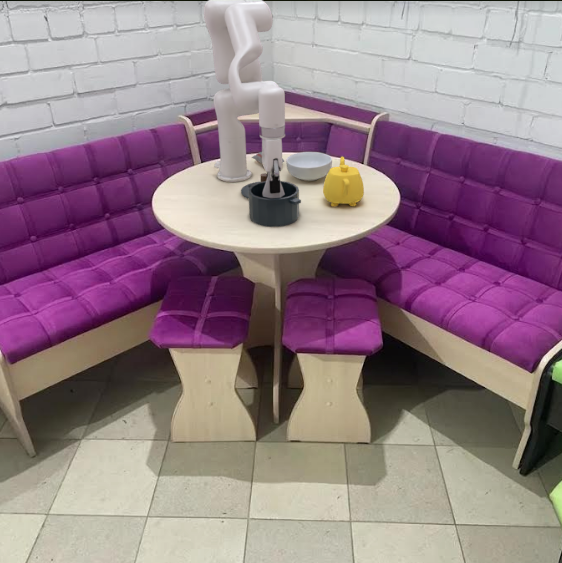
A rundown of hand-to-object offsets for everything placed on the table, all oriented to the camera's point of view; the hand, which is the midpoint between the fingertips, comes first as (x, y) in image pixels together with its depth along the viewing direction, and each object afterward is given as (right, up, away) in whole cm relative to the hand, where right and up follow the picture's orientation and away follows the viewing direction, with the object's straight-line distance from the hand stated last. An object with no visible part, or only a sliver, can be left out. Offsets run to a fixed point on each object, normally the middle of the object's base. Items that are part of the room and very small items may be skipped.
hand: (273, 188), depth 175 cm
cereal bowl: (+13, +10, +34) cm, 37 cm away
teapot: (+23, -2, +15) cm, 28 cm away
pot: (0, -8, +5) cm, 9 cm away
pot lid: (-3, +3, +21) cm, 21 cm away
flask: (0, -2, +1) cm, 2 cm away
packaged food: (-3, +17, +46) cm, 49 cm away
